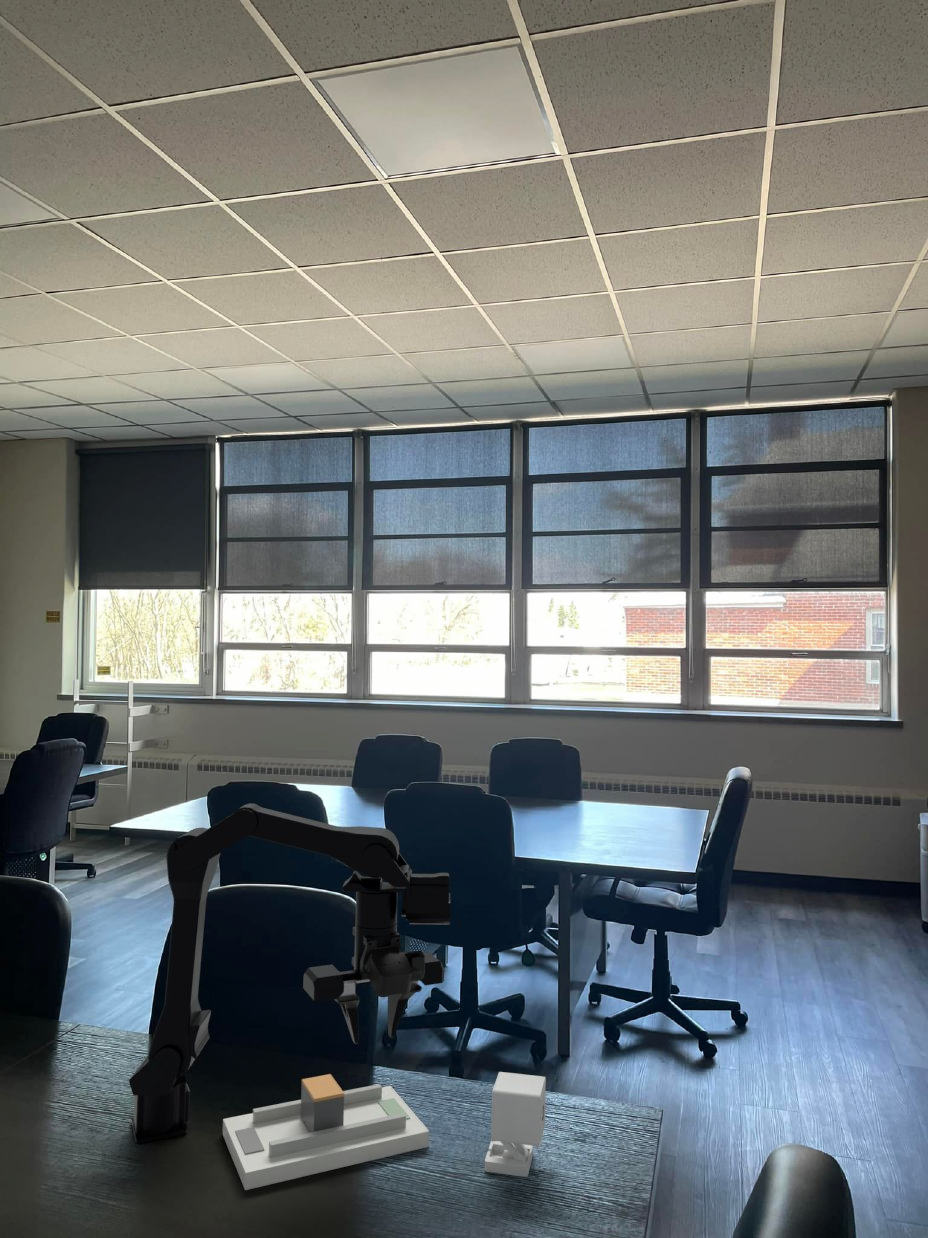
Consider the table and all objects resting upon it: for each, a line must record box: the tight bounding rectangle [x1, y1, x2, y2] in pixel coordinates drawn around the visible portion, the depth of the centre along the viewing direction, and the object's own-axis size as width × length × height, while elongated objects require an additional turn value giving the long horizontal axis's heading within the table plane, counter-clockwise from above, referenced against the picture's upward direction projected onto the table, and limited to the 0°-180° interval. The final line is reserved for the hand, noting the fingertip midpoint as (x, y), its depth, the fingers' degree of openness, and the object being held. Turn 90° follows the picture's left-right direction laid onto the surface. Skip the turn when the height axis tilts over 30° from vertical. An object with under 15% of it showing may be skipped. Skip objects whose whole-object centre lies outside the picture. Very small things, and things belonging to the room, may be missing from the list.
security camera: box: [484, 1071, 547, 1178], centre depth 113 cm, size 6×7×10 cm
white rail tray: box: [222, 1083, 430, 1191], centre depth 117 cm, size 24×14×4 cm, turn 116°
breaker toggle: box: [300, 1073, 344, 1133], centre depth 117 cm, size 4×6×5 cm, turn 26°
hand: (373, 1039), depth 120 cm, fingers open, 5 cm apart
